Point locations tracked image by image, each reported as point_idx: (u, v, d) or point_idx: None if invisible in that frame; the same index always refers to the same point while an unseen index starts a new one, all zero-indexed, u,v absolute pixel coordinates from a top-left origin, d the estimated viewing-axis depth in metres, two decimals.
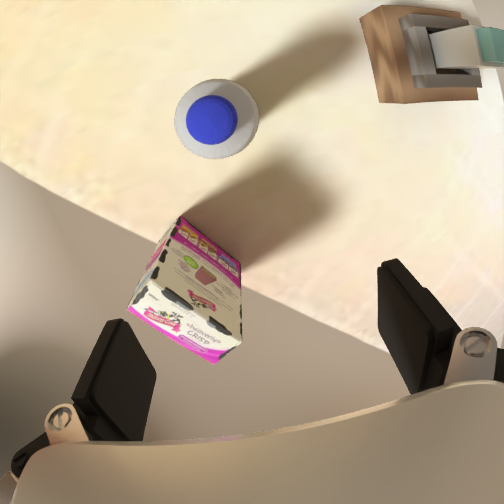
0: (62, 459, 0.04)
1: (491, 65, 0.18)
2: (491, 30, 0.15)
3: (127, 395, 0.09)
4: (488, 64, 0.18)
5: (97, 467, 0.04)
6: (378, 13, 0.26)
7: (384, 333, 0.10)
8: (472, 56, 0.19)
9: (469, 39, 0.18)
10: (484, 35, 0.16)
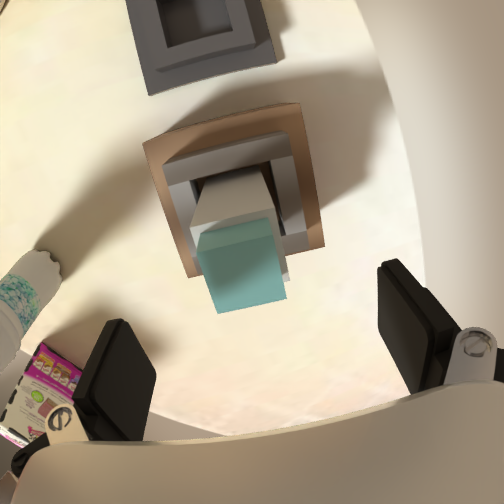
0: (62, 459, 0.04)
1: None
2: (202, 258, 0.13)
3: (127, 395, 0.09)
4: None
5: (97, 467, 0.04)
6: None
7: (384, 333, 0.10)
8: None
9: None
10: None
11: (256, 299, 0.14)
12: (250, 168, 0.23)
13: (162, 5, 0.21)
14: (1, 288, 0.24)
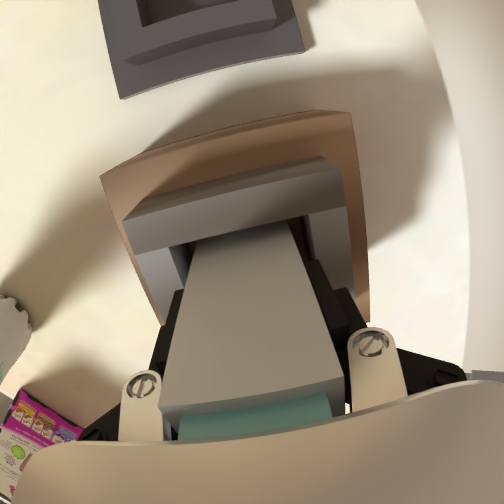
0: (61, 459, 0.04)
1: None
2: None
3: None
4: None
5: (97, 467, 0.04)
6: None
7: None
8: None
9: None
10: None
11: None
12: None
13: None
14: None
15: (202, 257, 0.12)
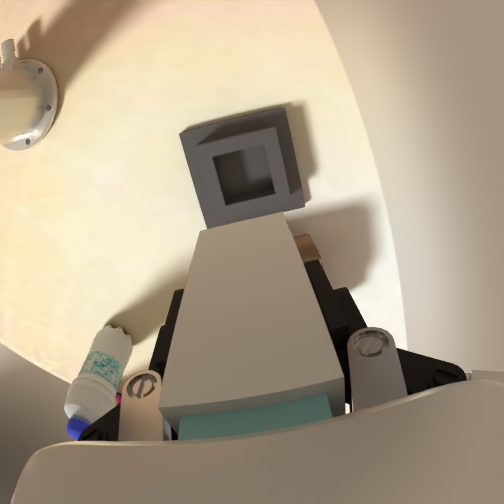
0: (62, 459, 0.04)
1: None
2: None
3: None
4: None
5: (97, 467, 0.04)
6: None
7: None
8: None
9: None
10: None
11: None
12: (270, 218, 0.14)
13: None
14: (95, 365, 0.37)
15: (202, 257, 0.12)
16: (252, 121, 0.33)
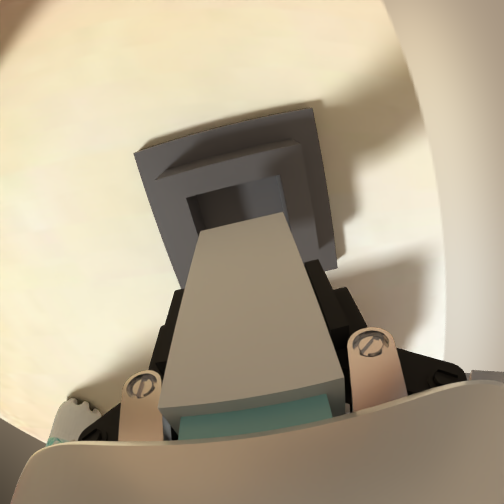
0: (61, 460, 0.04)
1: None
2: None
3: None
4: None
5: (97, 467, 0.04)
6: None
7: None
8: None
9: None
10: None
11: None
12: (270, 219, 0.14)
13: None
14: None
15: (202, 258, 0.12)
16: (257, 130, 0.19)
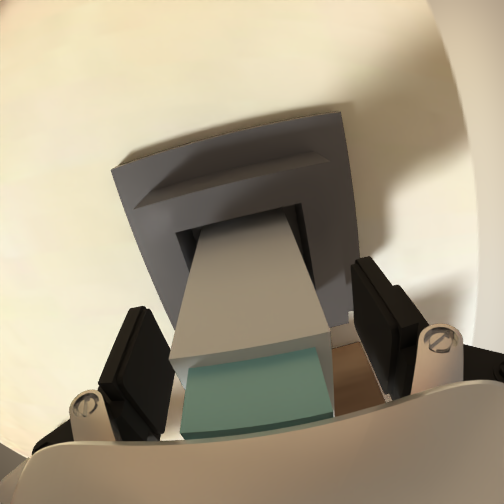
0: (61, 459, 0.04)
1: None
2: None
3: (151, 381, 0.10)
4: None
5: (97, 467, 0.04)
6: None
7: (359, 329, 0.11)
8: None
9: None
10: None
11: None
12: None
13: None
14: None
15: (207, 241, 0.14)
16: (269, 140, 0.15)
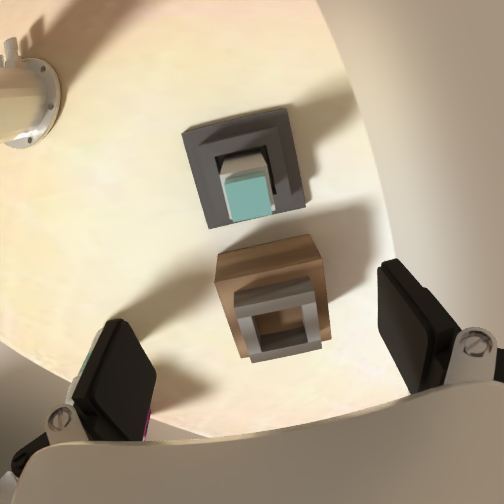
0: (61, 459, 0.04)
1: None
2: (227, 187, 0.24)
3: (127, 395, 0.09)
4: None
5: (97, 467, 0.04)
6: None
7: (384, 333, 0.10)
8: None
9: None
10: None
11: (255, 213, 0.25)
12: (254, 151, 0.34)
13: None
14: None
15: (227, 160, 0.32)
16: (254, 121, 0.33)
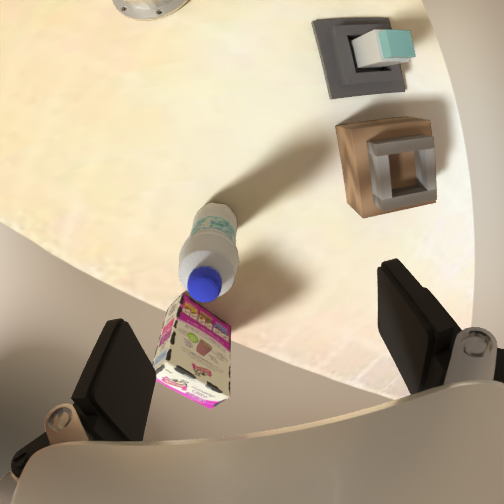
0: (62, 459, 0.04)
1: (392, 60, 0.28)
2: (387, 32, 0.25)
3: (127, 395, 0.09)
4: (389, 60, 0.28)
5: (97, 467, 0.04)
6: (349, 134, 0.37)
7: (384, 333, 0.10)
8: (376, 55, 0.29)
9: (373, 41, 0.28)
10: (383, 36, 0.26)
11: (405, 53, 0.26)
12: None
13: None
14: (214, 224, 0.38)
15: None
16: (367, 22, 0.34)
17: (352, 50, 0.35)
